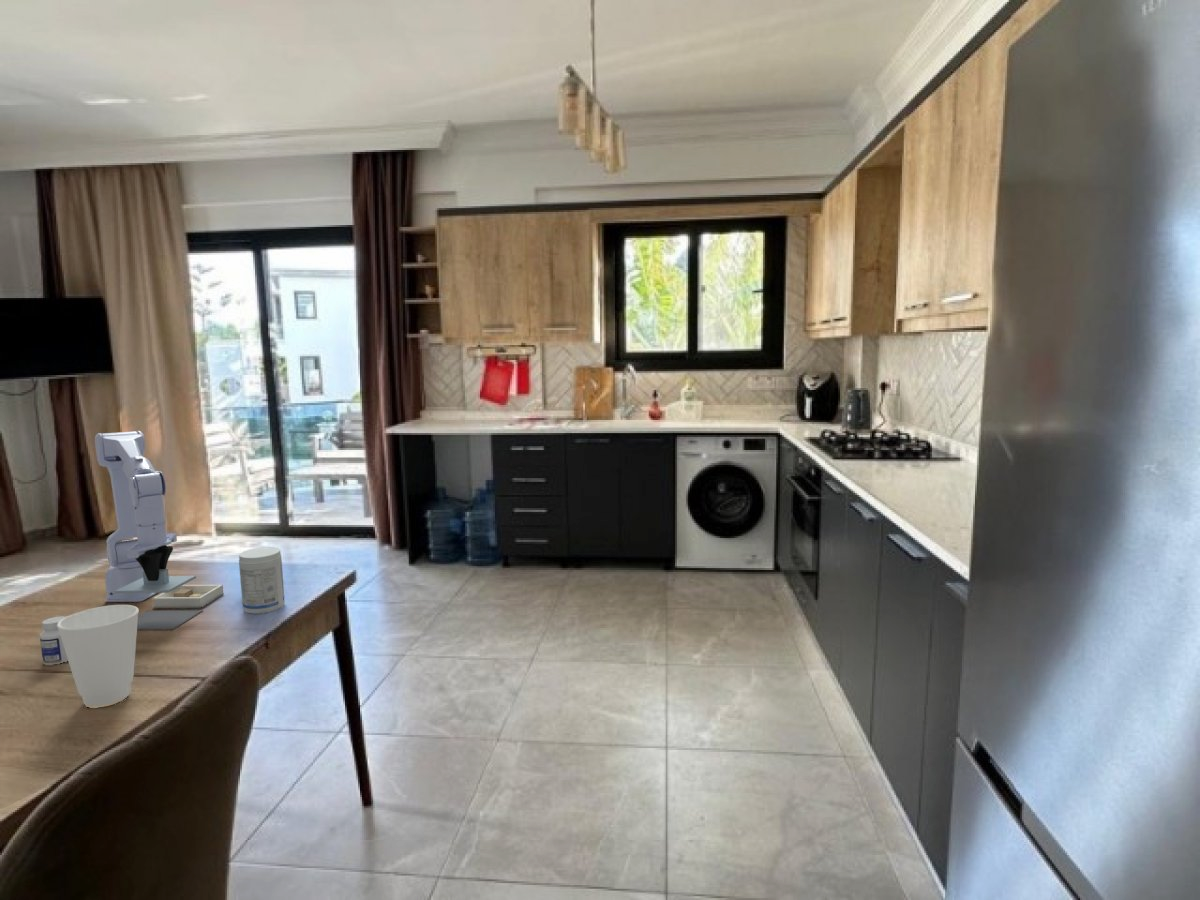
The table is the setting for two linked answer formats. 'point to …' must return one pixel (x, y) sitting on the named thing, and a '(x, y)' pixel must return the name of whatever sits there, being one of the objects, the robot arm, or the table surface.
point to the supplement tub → (261, 580)
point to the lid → (156, 584)
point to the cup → (101, 651)
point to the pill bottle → (52, 642)
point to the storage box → (188, 596)
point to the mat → (164, 619)
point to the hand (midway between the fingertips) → (156, 578)
